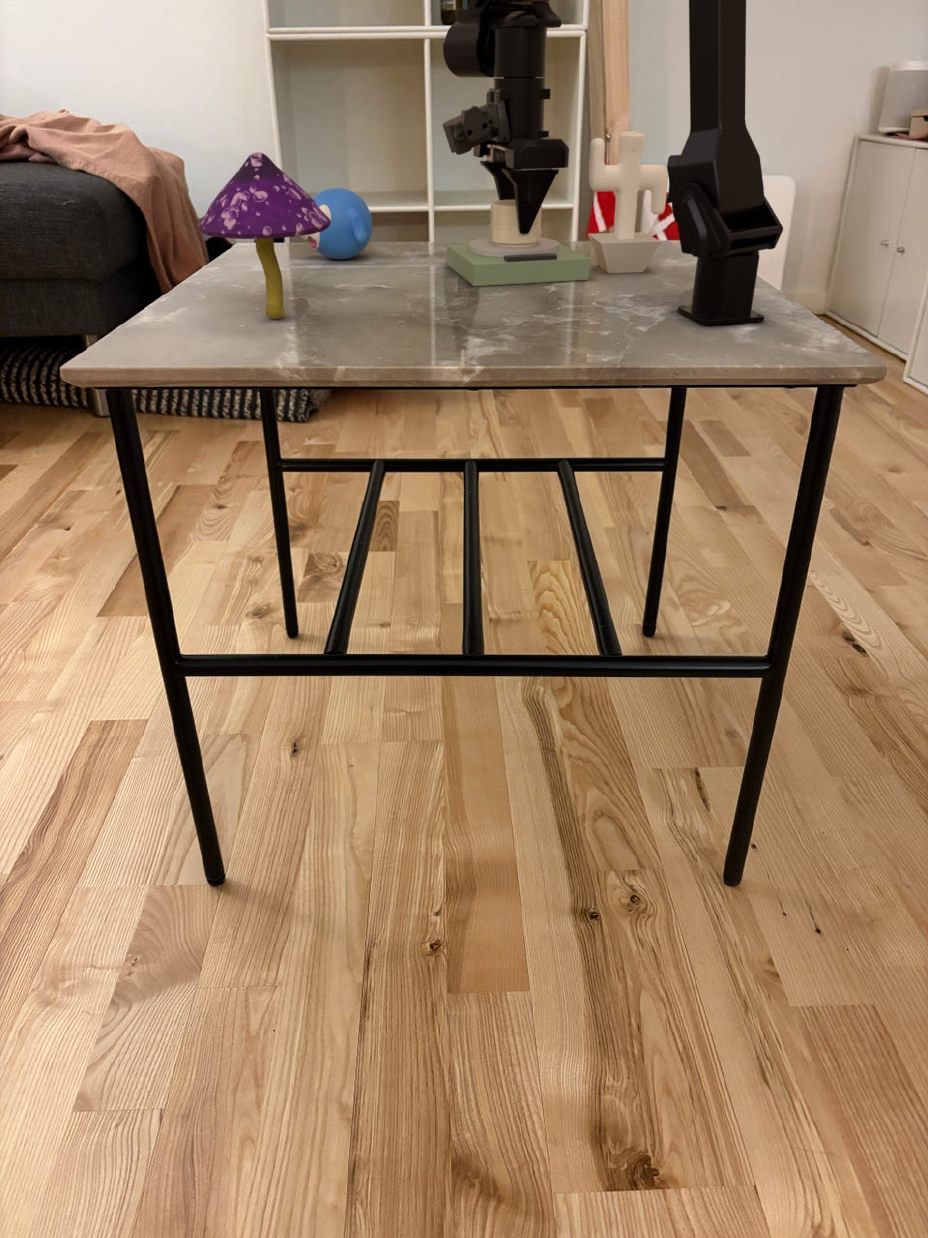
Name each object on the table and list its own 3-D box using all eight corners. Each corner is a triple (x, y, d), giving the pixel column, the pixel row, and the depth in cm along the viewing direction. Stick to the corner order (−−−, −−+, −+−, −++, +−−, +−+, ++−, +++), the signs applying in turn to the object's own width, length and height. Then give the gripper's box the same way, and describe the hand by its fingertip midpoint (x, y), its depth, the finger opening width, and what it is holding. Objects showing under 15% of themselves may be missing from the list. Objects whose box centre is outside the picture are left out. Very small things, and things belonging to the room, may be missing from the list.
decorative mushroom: (204, 311, 95) (180, 149, 88) (322, 300, 99) (309, 144, 91) (221, 339, 85) (195, 159, 78) (352, 327, 89) (340, 154, 81)
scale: (589, 279, 108) (591, 250, 106) (473, 286, 105) (473, 256, 103) (551, 259, 120) (552, 232, 118) (446, 264, 117) (446, 237, 115)
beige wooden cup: (546, 246, 109) (548, 204, 106) (498, 249, 108) (498, 206, 105) (531, 238, 114) (533, 198, 111) (485, 241, 112) (485, 200, 110)
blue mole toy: (266, 260, 120) (258, 189, 116) (341, 249, 127) (336, 182, 123) (317, 272, 113) (311, 197, 108) (394, 260, 119) (391, 189, 115)
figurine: (667, 273, 111) (681, 132, 103) (590, 276, 110) (598, 134, 102) (650, 262, 117) (662, 129, 109) (577, 264, 116) (584, 130, 108)
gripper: (431, 77, 108) (434, 221, 116) (469, 79, 92) (469, 245, 100) (522, 76, 110) (518, 217, 118) (574, 78, 95) (566, 240, 103)
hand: (516, 229), depth 110 cm, fingers closed on beige wooden cup, 6 cm apart
